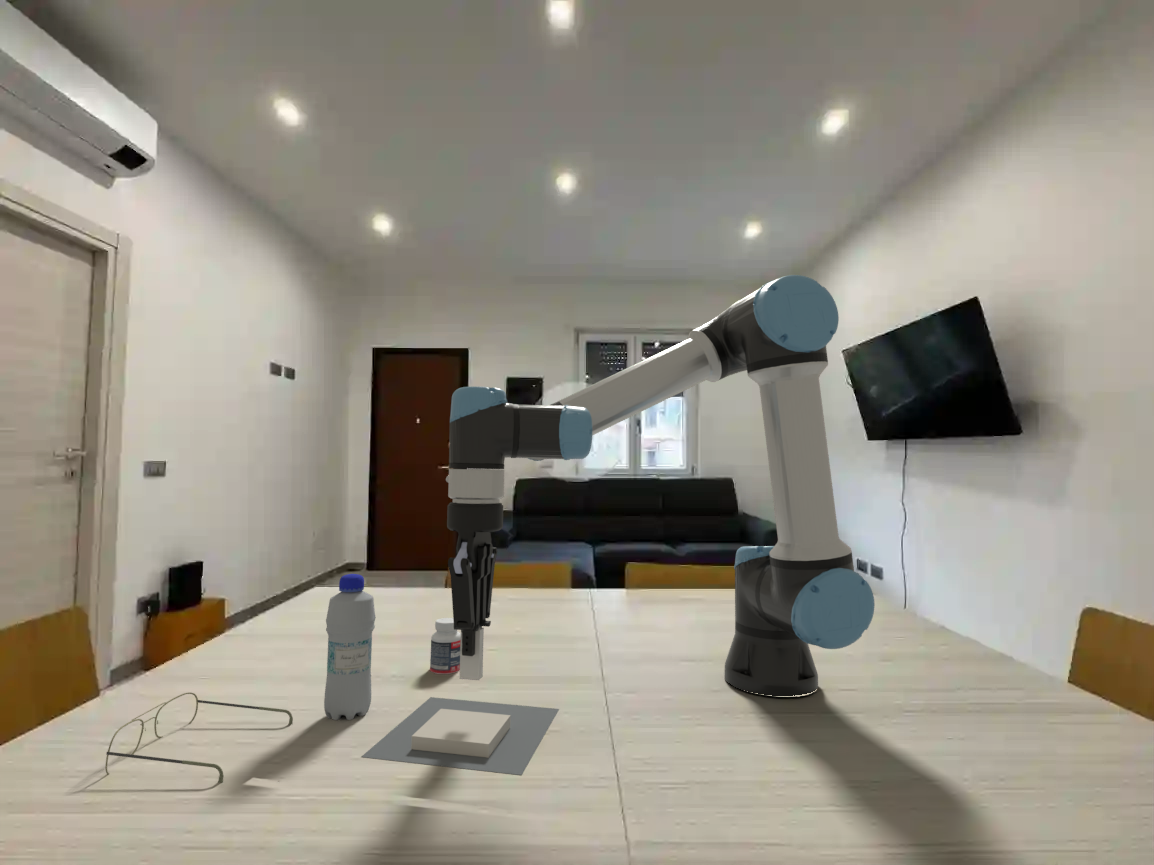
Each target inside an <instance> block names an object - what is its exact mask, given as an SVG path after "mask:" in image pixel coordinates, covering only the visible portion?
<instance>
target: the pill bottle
mask: <svg viewBox="0 0 1154 865" xmlns="http://www.w3.org/2000/svg"><path fill="white" fill-rule="evenodd" d="M434 628H435V632H434V633H433V634H432V635H431V638H430V660H429V662H430V663H429V664H430V665H429V671H430V672H431V673H434V674H437V675H449V674H454V673H457V672H460V642H461V631H458V630H454V619H453V617H443V618H437V619H436V620H435V624H434Z"/></svg>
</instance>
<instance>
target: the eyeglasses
mask: <svg viewBox="0 0 1154 865" xmlns="http://www.w3.org/2000/svg"><path fill="white" fill-rule="evenodd" d="M185 695H192V696H194V698H195V702H196V704H195V711H194V714H193V716H192V719H191V720H190V721H189V723H187V724H188V725H191V723H192V722H193V721H194V720H195V718H196V716H197V713H198V710H199V709H198V708H199V704H207V705H209V704H210V705H218V706H223V707H224V706H226V707H235V708H244V709H251V710H252V709H253V710H261V711H270V712H277V713H285V714H287V715H288V718H289V720H288V725H290V726H291V724H292V725H293V721H294V717H293V715H292V713H291V712H290V710H288V709H284V708H282V709H281V708H274V707H267V706H253V705H244V704H236V703H227V702H220V701H219V702H218V701H210V700H203V699H201V700H200V699H198V698H199V697H198V696H197V694H196V693H195V692H192V691H191V692H184V693H181V694H179V695H177V696H175V697H173V698H171V699H169V700H168V701H166V702H162V703H160V704H158V705H157V706H155V707H152V708H151V709H150V710H147V711H145V712H144V713H141V714H140V715H137V716H136V717H134V718H132V719H131V720H130V721H128V722H127V723H125V724H124V725H122V726H120V728H118V729H117V730H116V732H115V733H114V734H113V736H112V738H111V740H110V743H109V745H108V749H107V751H106V753H105V754H106V759H105V767H104V768H105V774H106V775H110V774H111V773H110V772H109V771H108V762H109V756H114V757H115V756H116V757H123V758H132V759H140V760H147V761H148V760H149V761H157V762H167V763H174V764H180V765H181V764H182V765H189V766H198V767H207V768H214V769H216V770H217V771H218V773H219V776H218V781H217V783H219V784H221V783H224V771H223V769H222V768H221V766H220V765H218V764H217V763H210V762H201V761H193V760H187V759H186V760H184V759H183V760H182V759H173V758H163V757H156V756H147V755H139V754H135V753H136V751H137V750H138V748H139V746H140V743H141V740H142V737H143V734H144V731H145V732H146V731H147V729H146V727H145V723H147V722H149V721H151V720H153V719H154V729H153V730H154V735H155V737H156V738H158V739H161V738H163V737H164V736H160V735H158V733H157V732H158V731H157V725H158V724H159V720H157V718H158V716H159V713H160V711H161V710H162V709H163V708H164V707H165V706H166V705H168V704H169V703H170V702H172V701H174V700H176V699H178V698H180V697H182V696H185ZM158 707H159V709H158V710H157V712H156V715H155V716H153V717H151V718H148V719H147V720H145V721H144V720H143V719H141V718H140V717H141V716H143V715H145V714H147V713H149V712H151V711H153V710H154V709H157V708H158ZM138 721H140V722H141V723H140V726H141V732H140V735H139V738H138V741H137V745H136V747H135V748H134V749H133V751H132V753H131V754H129V753H122V752H113V751H110V750H111V747H112V744H113V742H114V740H115V737H116V736H117V734H118V733H119V732H120V731H121V730H122V729H123V728H125V727H126V726H128V725H129V724H131V723H133V722H138Z"/></svg>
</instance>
